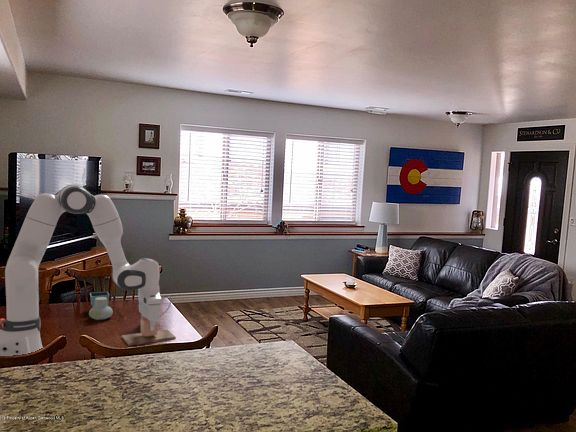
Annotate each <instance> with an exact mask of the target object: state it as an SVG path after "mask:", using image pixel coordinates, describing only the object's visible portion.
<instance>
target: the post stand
mask: <svg viewBox="0 0 576 432" xmlns="http://www.w3.org/2000/svg"><path fill="white" fill-rule="evenodd" d="M121 338H122V339H121V340H123V341H124V342H125V344H126V345H128V346H129V347H131V346H137V345H143V344H151V343H157V342H163V341H170V340H176V338H177V336H176V335H174V334H173V333H172V332H171V331H170V330H169V329H168V328H166V329H165V328H164V329H157V335H151V336H143V335H142V334H141V332H137V333H129V334H122V335H121Z"/></svg>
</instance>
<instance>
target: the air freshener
mask: <svg viewBox="0 0 576 432" xmlns="http://www.w3.org/2000/svg"><path fill="white" fill-rule="evenodd" d="M113 313H114V311H113V308H112V307H111V306H109V305H108V306H107V298H106V297H98V298H95V301H94V307H93V308H92V307H91V309H90V310H89V312H88V316H89V317H90V318H91V319H94V320H95V321H104V320H106V319H108V318H110V317H111V316H112V315H113Z"/></svg>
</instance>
